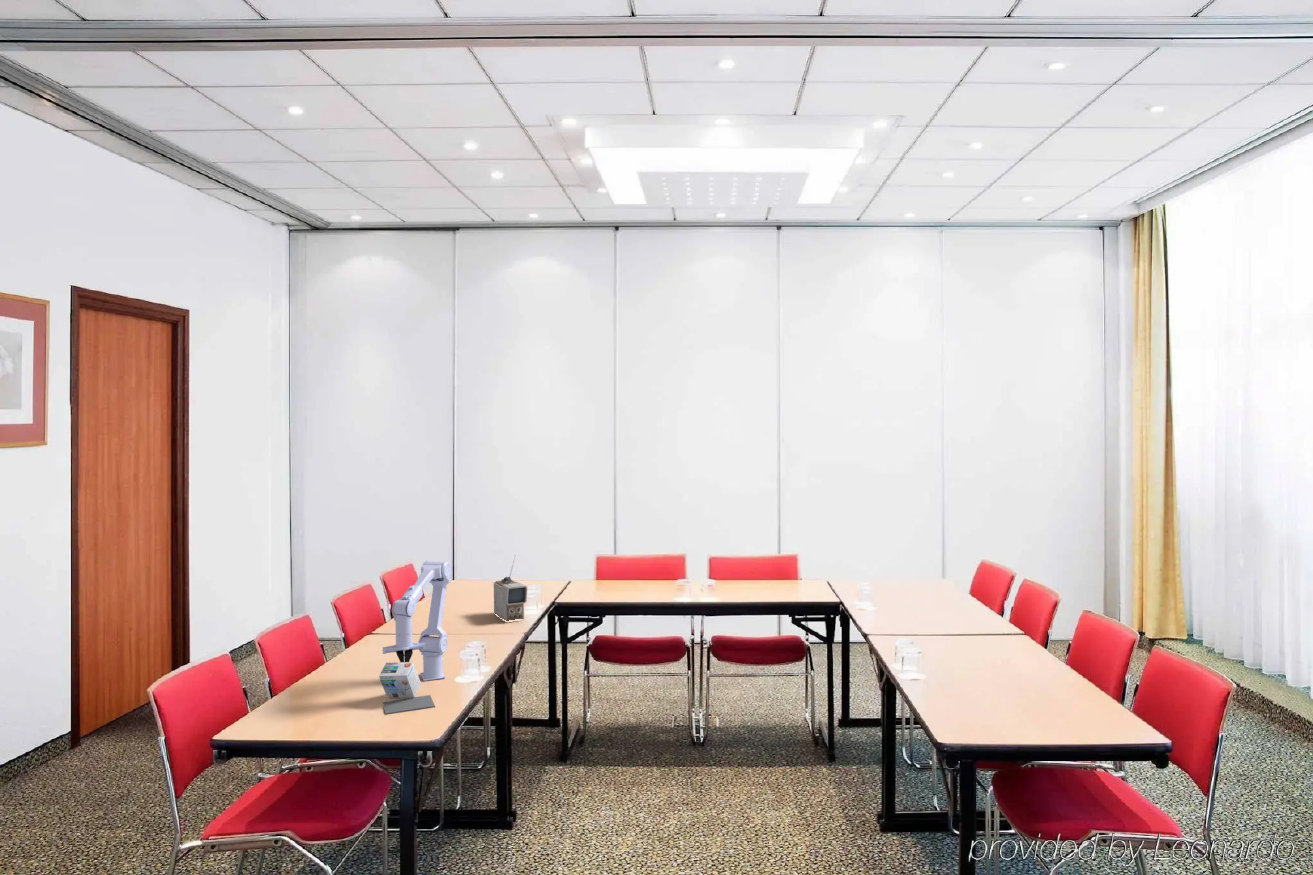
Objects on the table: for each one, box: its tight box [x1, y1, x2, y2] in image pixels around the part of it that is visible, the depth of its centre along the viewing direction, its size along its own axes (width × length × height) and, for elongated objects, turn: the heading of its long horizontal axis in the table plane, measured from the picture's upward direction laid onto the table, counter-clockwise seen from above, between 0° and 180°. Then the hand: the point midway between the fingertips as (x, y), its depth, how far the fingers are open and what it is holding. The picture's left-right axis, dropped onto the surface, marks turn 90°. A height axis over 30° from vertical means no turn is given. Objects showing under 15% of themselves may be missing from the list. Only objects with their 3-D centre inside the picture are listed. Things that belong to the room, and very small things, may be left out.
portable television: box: [493, 554, 528, 621], centre depth 387 cm, size 12×24×30 cm, turn 29°
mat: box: [382, 694, 436, 715], centre depth 266 cm, size 12×16×1 cm
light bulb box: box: [378, 661, 422, 699], centre depth 273 cm, size 11×7×11 cm, turn 82°
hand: (404, 671), depth 277 cm, fingers closed
